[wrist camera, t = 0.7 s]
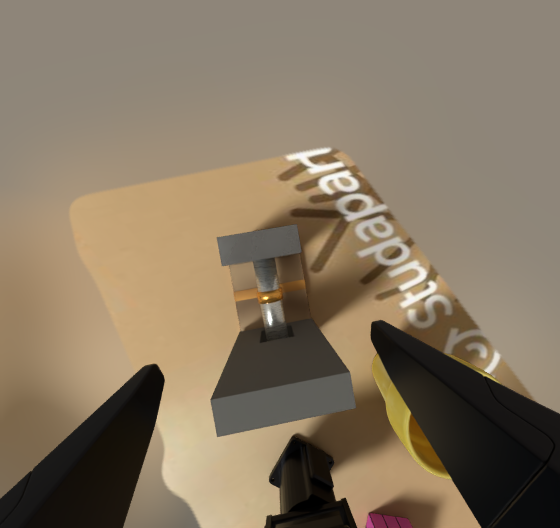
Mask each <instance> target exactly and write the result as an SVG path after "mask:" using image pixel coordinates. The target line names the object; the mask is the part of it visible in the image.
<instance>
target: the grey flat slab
mask: <svg viewBox="0 0 560 528" xmlns="http://www.w3.org/2000/svg"><path fill="white" fill-rule="evenodd" d="M286 326H287V331H288V337H289V338H283V339H278V340H273V341H268V342H267V339H266V333H265V328H264V327H262V328H257V329H252V330H246V331H241V332H240V333H239V335H238V337H237V340H236V342H235V344H234V347H233V349H232V351H231V354H230V356H229V358H228V360H227V363H226V365H225V367H224V370H223V372H222V374H221V377H220V379H219V381H218V384H217V386H216V388H215V391H214V393H213V395H212V398H211V406H212V411H213V417H214V422H215V427H216V433H217V437H220V436H225V435H230V434H234V433H239V432H244V431H249V430H254V429H258V428H263V427H268V426H273V425H278V424H282V423H287V422H292V421H297V420H302V419H306V418H311V417H316V416H321V415H326V414H330V413H335V412H340V411H345V410H350V409H354V408H356V405H355V399H354V393H353V387H352V381H351V375H350V371H349V370H348V369H347V367H346V366H345V364H344V363H343V362H342V360H341V359H340V357H339V356H338V355H337V353H336V352H335V350H334V349H333V348H332V346H331V345H330V343H329V342H328V341H327V339H326V338H325V336H324V335H323V334H322V332H321V331H320V329H319V328H318V327H317V325H316V324H315V322H314V321H313V320H312V318H310V319H305V320H300V321H294V322H289V323H286Z"/></svg>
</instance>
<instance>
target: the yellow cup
mask: <svg viewBox="0 0 560 528" xmlns="http://www.w3.org/2000/svg"><path fill="white" fill-rule="evenodd" d="M444 354H446V353H444ZM446 355H448V356H449V357H451V358H453V359H455V360H457V361H459V362H460V363H462V364H464V365H466V366H468V367H470V368H472V369H473V370H475V371H477V372H479V373H481V374H482V375H483V376H487V377H488V378H490V379H492V380H494V381H496V382H498V383H499V384H501V383H500V382H499V381H498V380H497V379H496V378H494V377H493V376H492V375H490V374H489V373H487V372H485V371H483V370H482V369H480V368H478V367H476V366H474V365H472V364H470V363H468V362H466V361H464V360H462V359H460V358H458V357H455V356H453V355H450V354H446ZM372 372H373V377H374V379H375V381H376V383H377V385H378V388H379V390H380V392H381V394H382V396H383V398H384V400H385V402H386V411H387V415H388V419H389V421H390V423H391V425H392V427H393V429H394V431H395V432H396V434H397V435H398V437H399V438H400V440H401V441H402V443H403V444H404V446H405V447H406V449H407V450H408V451H409V453H410V454H411V456H412V457H413V458H414V459H415V461H416V462H417V463H418V464H419V465H420V466H421V467H423V468H424V469H425V470H426V471H428V472H430V473H431V474H433V475H436V476H438V477H441V478H445V479H451V477H450V476H449V474H448V472H447V471H446V469H445V467H444V466H443V464H442V463H441V461H440V459H439V458H438V456H437V454H436V453H435V451H434V449H433V448H432V446H431V445H430V443H429V441H428V440H427V438H426V436H425V435H424V433H423V432H422V430H421V428H420V427H419V425H418V423H417V422H416V420H415V419H414V417H413V415H412V414H411V412H410V410H409V409H408V407H407V405H406V404H405V402H404V401H403V399H402V397H401V396H400V394H399V392H398V391H397V389H396V388H395V386H394V384H393V383H392V381H391V379H390V377H389V376H388V374H387V372H386V370H385V368H384V366H383V364H382V362H381V359H380V357H379V355H378V353H377V354H376V356H375V358H374V360H373V364H372ZM501 385H502V384H501ZM451 480H452V479H451Z"/></svg>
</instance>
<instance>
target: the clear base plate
mask: <svg viewBox="0 0 560 528" xmlns="http://www.w3.org/2000/svg"><path fill="white" fill-rule="evenodd" d="M275 262H276V268H277V274H278V280H279V285H280V287H282V292H283V299H282V303H283V308H284V314H285V320H286V323H289V322H294V321H300V320H305V319H310V318H311V316H310V310H309V304H308V298H307V293H306V286H305V280H304V275H303V269H302V263H301V258H300V253H298V254H294V255H290V256H284V257H278V258H275ZM229 269H230V274H231V280H232V286H233V291H234V298H235V302H236V308H237V313H238V319H239V325H240V330H241V331H246V330H252V329H257V328H262V327H264V322H263V316H262V311H261V305H260V304H259V303H258V299H257V293H256V292H257V291H258V288H257V282H256V277H255V271H254V265H253V262H249V263H243V264H238V265H229Z"/></svg>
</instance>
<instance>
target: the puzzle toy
mask: <svg viewBox="0 0 560 528" xmlns="http://www.w3.org/2000/svg"><path fill="white" fill-rule="evenodd" d="M366 528H413V527H412V525H411V523H410V522H409V520H408V518H401V517H394V516H387V515H381V514H374V513H369V514H368V519H367V524H366Z"/></svg>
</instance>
